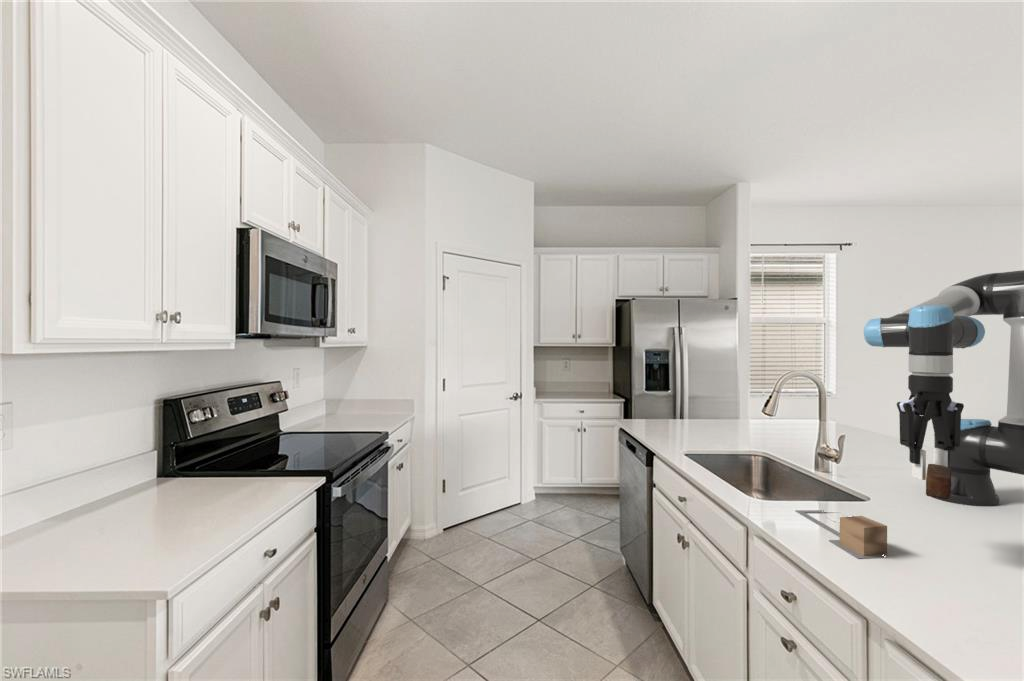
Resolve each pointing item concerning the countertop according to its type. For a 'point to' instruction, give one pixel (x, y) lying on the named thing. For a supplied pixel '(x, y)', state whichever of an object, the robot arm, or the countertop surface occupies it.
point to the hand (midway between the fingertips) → (929, 477)
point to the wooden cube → (863, 535)
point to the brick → (938, 481)
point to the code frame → (803, 512)
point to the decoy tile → (855, 552)
